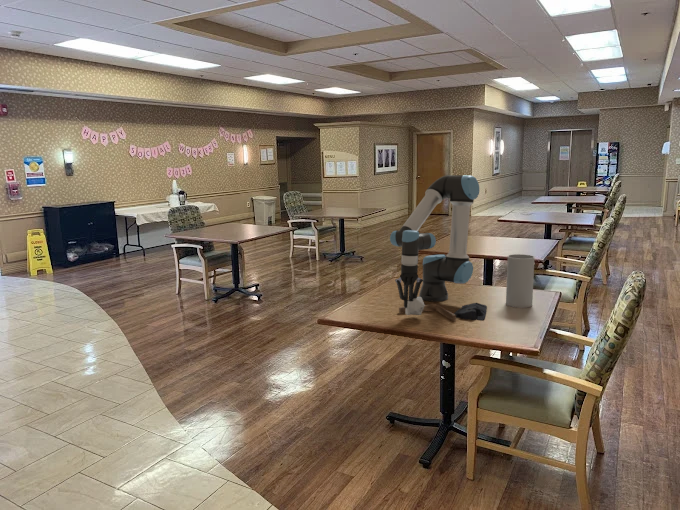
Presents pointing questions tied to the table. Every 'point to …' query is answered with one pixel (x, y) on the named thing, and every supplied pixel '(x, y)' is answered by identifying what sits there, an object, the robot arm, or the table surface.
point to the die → (416, 306)
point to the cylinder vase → (520, 280)
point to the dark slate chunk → (472, 312)
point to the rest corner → (434, 307)
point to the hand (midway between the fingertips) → (407, 314)
